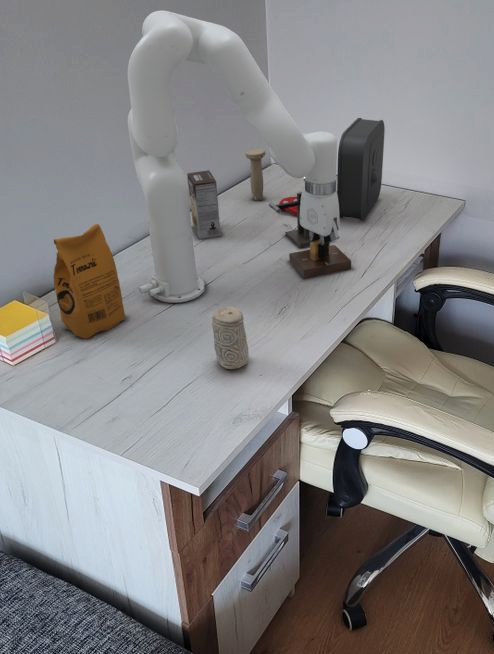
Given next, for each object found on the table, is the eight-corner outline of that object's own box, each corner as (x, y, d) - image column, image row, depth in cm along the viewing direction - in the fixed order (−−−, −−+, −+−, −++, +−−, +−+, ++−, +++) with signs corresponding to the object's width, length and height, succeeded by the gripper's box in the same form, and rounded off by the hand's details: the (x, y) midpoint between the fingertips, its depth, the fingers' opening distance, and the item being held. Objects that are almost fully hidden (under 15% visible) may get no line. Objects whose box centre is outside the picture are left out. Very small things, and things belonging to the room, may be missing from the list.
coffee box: (192, 226, 191) (186, 172, 182) (214, 223, 193) (209, 169, 184) (199, 239, 184) (193, 183, 175) (221, 236, 186) (217, 180, 177)
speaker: (359, 193, 214) (362, 113, 199) (385, 196, 211) (390, 116, 197) (336, 223, 194) (338, 137, 180) (364, 227, 192) (368, 140, 178)
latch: (277, 215, 174) (276, 207, 172) (268, 209, 177) (268, 200, 176) (317, 207, 179) (317, 198, 177) (308, 201, 182) (308, 192, 181)
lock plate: (304, 278, 166) (304, 269, 164) (289, 261, 173) (289, 252, 172) (350, 269, 170) (351, 260, 169) (334, 253, 178) (334, 244, 176)
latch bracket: (300, 248, 180) (299, 203, 173) (285, 235, 187) (284, 192, 179) (332, 240, 184) (332, 196, 177) (316, 228, 191) (316, 186, 183)
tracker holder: (314, 212, 197) (281, 206, 195) (310, 224, 200) (278, 218, 198) (311, 189, 205) (280, 183, 203) (308, 200, 208) (277, 195, 206)
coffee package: (57, 326, 147) (34, 235, 134) (106, 305, 155) (88, 216, 142) (82, 343, 141) (60, 249, 129) (131, 320, 149) (115, 230, 137)
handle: (270, 197, 210) (268, 150, 201) (256, 203, 205) (254, 155, 197) (258, 194, 212) (256, 147, 204) (245, 200, 208) (242, 152, 199)
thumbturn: (314, 261, 168) (314, 244, 166) (309, 258, 169) (309, 241, 167) (330, 254, 172) (330, 237, 169) (325, 252, 173) (325, 235, 170)
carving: (231, 349, 140) (227, 300, 133) (256, 363, 136) (253, 313, 129) (208, 362, 136) (203, 312, 129) (233, 377, 132) (229, 326, 125)
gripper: (286, 181, 162) (288, 249, 173) (333, 199, 153) (332, 270, 163) (308, 173, 167) (308, 241, 177) (355, 190, 157) (352, 260, 168)
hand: (319, 254), depth 170 cm, fingers closed on thumbturn, 2 cm apart
